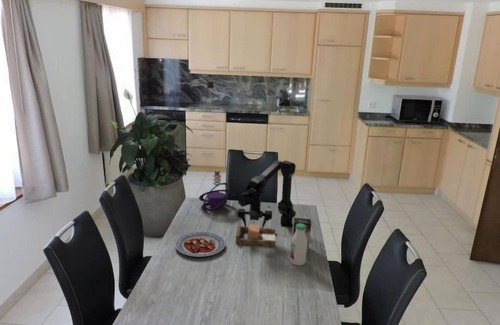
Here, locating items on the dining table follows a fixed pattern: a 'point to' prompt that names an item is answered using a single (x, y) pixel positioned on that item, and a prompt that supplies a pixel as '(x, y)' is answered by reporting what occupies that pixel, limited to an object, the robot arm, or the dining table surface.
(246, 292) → the dining table surface
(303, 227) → the milk bottle
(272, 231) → the bay
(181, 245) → the ceramic plate
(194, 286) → the dining table surface
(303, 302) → the dining table surface
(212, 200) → the decorative bottle
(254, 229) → the block
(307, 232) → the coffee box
